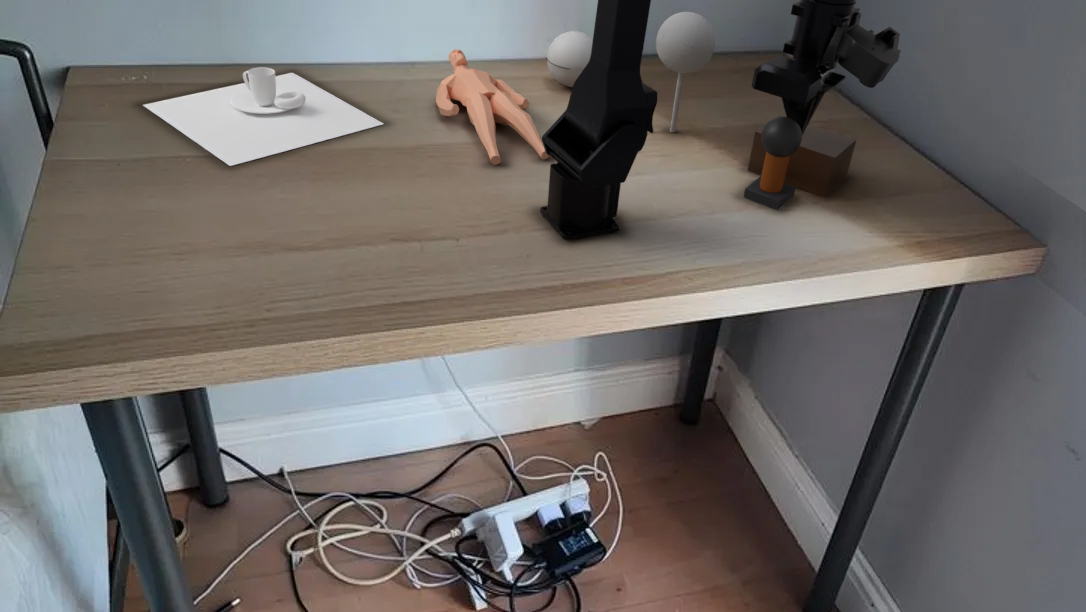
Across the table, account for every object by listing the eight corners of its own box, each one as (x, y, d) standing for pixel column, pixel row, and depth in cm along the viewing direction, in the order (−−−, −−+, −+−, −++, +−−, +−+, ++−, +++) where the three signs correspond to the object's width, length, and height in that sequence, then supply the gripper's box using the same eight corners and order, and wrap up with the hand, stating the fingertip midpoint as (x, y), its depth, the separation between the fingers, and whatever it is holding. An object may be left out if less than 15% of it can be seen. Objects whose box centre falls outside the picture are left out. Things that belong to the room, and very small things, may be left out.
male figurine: (477, 140, 105) (414, 45, 121) (475, 179, 108) (414, 81, 125) (566, 132, 109) (493, 41, 126) (562, 170, 112) (491, 76, 129)
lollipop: (700, 124, 124) (719, 8, 115) (699, 146, 118) (720, 25, 109) (646, 117, 124) (661, 0, 115) (643, 139, 118) (658, 18, 109)
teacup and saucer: (316, 110, 116) (313, 77, 113) (257, 124, 111) (253, 91, 108) (277, 87, 120) (274, 55, 118) (218, 100, 115) (213, 67, 113)
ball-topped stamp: (780, 221, 108) (772, 176, 100) (745, 208, 110) (735, 163, 101) (812, 164, 110) (807, 115, 101) (778, 152, 112) (770, 103, 103)
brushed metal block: (824, 197, 110) (835, 157, 107) (747, 170, 114) (755, 131, 111) (846, 177, 115) (856, 139, 112) (771, 152, 118) (779, 114, 116)
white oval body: (535, 78, 131) (538, 25, 127) (581, 73, 135) (586, 21, 130) (569, 105, 125) (574, 50, 120) (617, 99, 128) (623, 46, 124)
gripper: (871, 36, 89) (831, 185, 98) (929, -2, 103) (890, 133, 112) (764, 7, 94) (736, 152, 103) (834, -26, 107) (803, 106, 116)
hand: (796, 135), depth 108 cm, fingers closed
